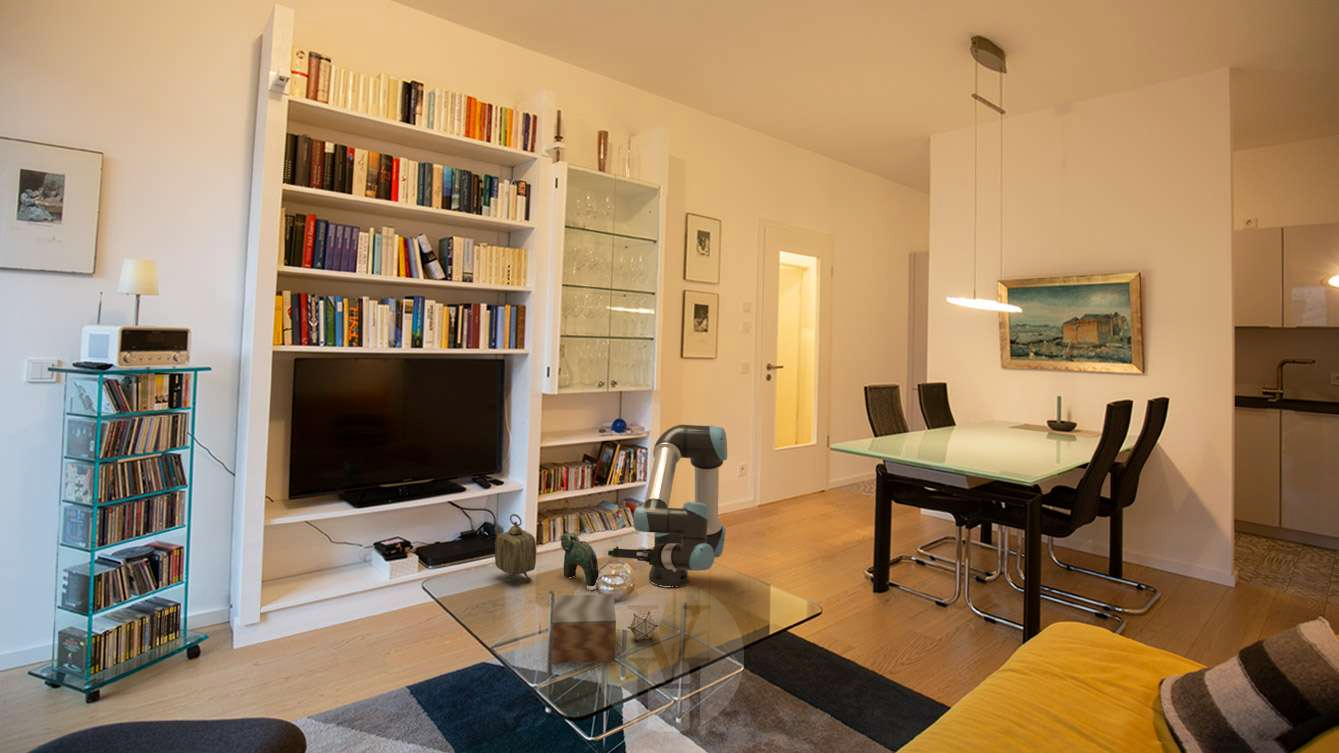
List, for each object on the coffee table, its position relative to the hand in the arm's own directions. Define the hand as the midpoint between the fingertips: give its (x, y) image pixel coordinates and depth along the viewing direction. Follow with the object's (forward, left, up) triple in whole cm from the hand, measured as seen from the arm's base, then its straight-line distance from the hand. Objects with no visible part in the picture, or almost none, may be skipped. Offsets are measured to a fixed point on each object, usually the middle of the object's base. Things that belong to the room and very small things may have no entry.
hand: (618, 555), depth 207 cm
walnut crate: (+11, +15, -22) cm, 29 cm away
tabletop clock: (+37, -37, -22) cm, 57 cm away
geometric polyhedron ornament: (-7, +12, -22) cm, 26 cm away
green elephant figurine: (+12, -33, -22) cm, 42 cm away
